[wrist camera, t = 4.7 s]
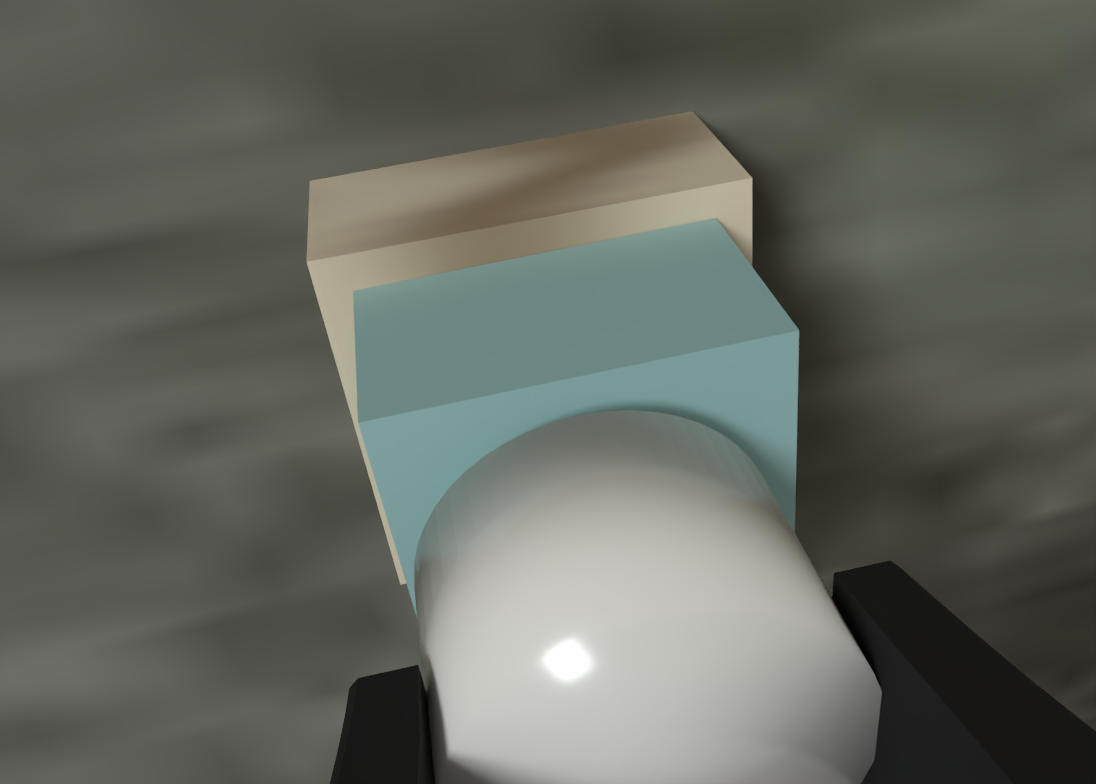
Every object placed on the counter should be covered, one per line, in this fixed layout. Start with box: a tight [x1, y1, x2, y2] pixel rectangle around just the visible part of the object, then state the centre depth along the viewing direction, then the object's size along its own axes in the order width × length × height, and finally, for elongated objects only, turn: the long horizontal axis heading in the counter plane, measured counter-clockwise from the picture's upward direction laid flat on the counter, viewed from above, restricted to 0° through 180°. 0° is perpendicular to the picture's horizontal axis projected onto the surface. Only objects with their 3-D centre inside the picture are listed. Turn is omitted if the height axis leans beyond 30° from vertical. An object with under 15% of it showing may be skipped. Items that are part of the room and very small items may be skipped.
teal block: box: [353, 218, 799, 616], centre depth 14 cm, size 5×5×3 cm
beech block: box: [307, 111, 752, 584], centre depth 16 cm, size 6×6×3 cm
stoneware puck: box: [414, 410, 882, 784], centre depth 11 cm, size 4×4×3 cm
